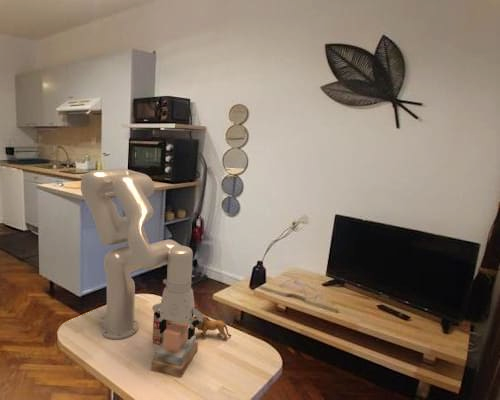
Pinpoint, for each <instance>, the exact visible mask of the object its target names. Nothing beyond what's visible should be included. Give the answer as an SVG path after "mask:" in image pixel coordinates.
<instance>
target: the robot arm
mask: <svg viewBox="0 0 500 400" xmlns="http://www.w3.org/2000/svg"><path fill="white" fill-rule="evenodd" d="M153 181H154V180H152V177H150V176H149V175H148V174H145V173H142V172H139V171H134V170H131V169H127V168H109V169H107V168H106V169H95V170H91V171H88V172H86V173H85V174H84V175H83V176H82V178H81V181H80V192H81V195H82V198H83V200H84V202H85V203H86V205H87V207H88V209H89V210H90V212H91V216H92V218H93V222H94V224H95V227H96V230H97V233H98V237H99V239H100V241H101V243H102V244H103V245H104V246H107V247H112V246H117V245H120V244H125V243H127V245H124V246H121V247H117V248H114V249H112V250H109V252H107V253H106V254H105V255H104V259H103V268H104V273H105V278H106V314H105V313H99V316H98V320H97V322H98V323H101V324H103V326H102V328H101V334H102V336H103V337H105V338H107V339H110V340H123V339H127V338H130V337H132V336H133V335H135V334H136V333H137V331H138V330H139V323H138V322H137V320H135V301H136V298H135V297H136V293H135V292H136V289H135V288H136V284H135V281H134V279H133V278H132V277H131V273H133V272H136V271H137V270H141V269H144V270H147V271H148V270H154V269H156V268H159V267H161V266H164V265H167V267H166V268H167V270H166V271H167V273H166V274H167V276H166V278H164V279H163V280H162V283H163V284H164V285H165V287H164V288H163V291H162V295H161V300H160V301H161V302H160V303H155V304H154V305H153V306H152V307H151V309H152V311H153V316H154V315H155V316H156V317H157V319H158V322H159V329H160V334H162V333H163V332H164V331H165V330H166V320H169V321H174V322H179V323H184V324H186V323H187V324H188V325H189V328H188V340H190V339H191V338H192V336H195V334H196V333H195V331H196V328H195V326H197V325H198V324H199V323H200V321H201V320H202V318H203V317H204V316H205V314H203V313H202V312H201V311H199V310H198V309H196V308H195V297H194V290H193V288H192V274H193V258H194V253H193V250H192V248H191V247H189V246H186V245H182V244H180V243H179V242H177V241H175V240H173V239H164V240H161V241H157V242H154V243H153V242H152V243H150V242H149V239H148V236H147V233H146V230H145V227H144V224H145V223H146V222H148V221H149V220H150V219H151V218H152V217H153V215H154V211H155V210H154V208H153V207H152V204H151V203H150V201H149V199H148V198H149V197H151V196H152V195H153V194H154V192H155V183H154V182H153ZM111 193H113V195H114V196H115V198H116V200H117V202H118V204H119V205H120V207H121V209H122V210H123V212H124V214H125V216H121V215H120V213H119V211H118V208H117V205H116V204H115V202H114V201H113V200H112V199H111V198H110V197H108V196H107V195H106V194H111ZM159 308H160V311H159ZM154 313H155V314H154ZM194 316H197V317H198V319H197V320H195V319H194Z"/></svg>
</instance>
